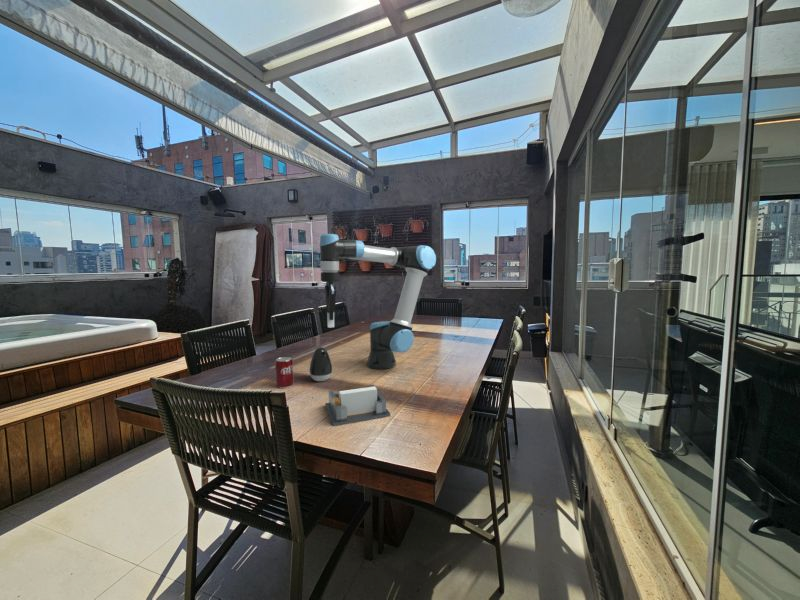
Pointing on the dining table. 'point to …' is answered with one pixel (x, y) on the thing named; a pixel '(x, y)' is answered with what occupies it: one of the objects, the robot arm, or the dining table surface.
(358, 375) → the dining table surface
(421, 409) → the dining table surface
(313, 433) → the dining table surface
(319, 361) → the dark grey egg shape
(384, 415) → the rack
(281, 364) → the soda can
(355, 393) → the panel
